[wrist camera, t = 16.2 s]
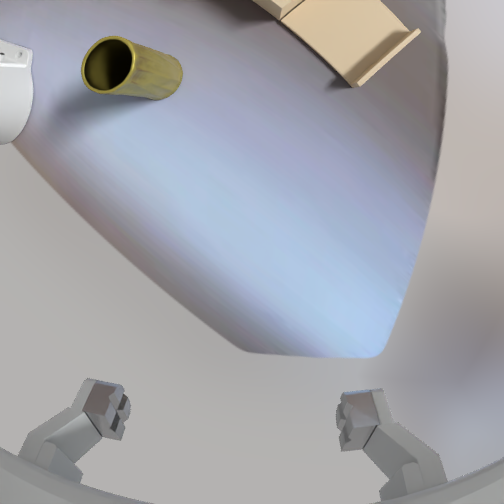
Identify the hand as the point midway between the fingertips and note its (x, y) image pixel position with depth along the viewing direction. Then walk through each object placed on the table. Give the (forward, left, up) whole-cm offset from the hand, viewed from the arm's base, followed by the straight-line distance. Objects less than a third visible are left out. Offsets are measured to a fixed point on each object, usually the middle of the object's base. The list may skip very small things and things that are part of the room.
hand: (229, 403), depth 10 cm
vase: (-18, +3, -31) cm, 36 cm away
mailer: (-12, +24, -31) cm, 41 cm away
